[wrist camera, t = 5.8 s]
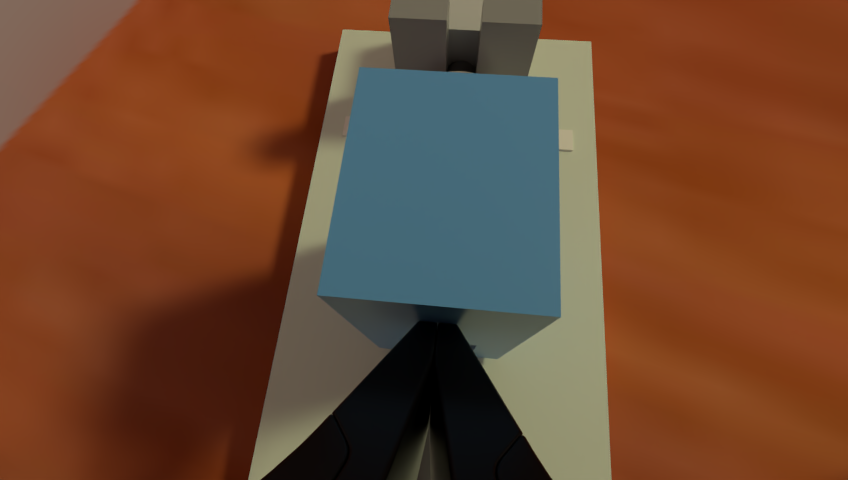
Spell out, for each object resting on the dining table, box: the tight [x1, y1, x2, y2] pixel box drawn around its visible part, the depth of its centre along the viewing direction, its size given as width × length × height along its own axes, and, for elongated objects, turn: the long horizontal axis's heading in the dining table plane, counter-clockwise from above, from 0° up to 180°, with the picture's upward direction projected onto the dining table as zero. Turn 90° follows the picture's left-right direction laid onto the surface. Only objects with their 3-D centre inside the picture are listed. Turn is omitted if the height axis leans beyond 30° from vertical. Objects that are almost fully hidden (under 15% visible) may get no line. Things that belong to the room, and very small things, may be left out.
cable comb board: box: [248, 0, 611, 480], centre depth 14 cm, size 30×12×6 cm, turn 174°
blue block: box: [317, 67, 561, 359], centre depth 12 cm, size 5×4×8 cm
